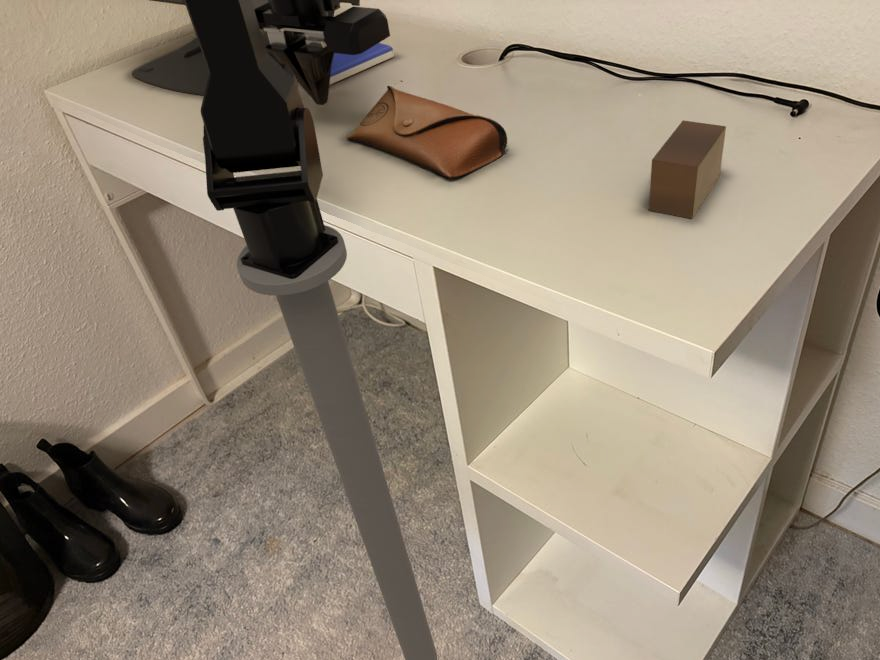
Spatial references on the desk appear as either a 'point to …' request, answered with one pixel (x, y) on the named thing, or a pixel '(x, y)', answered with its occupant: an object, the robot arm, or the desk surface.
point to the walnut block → (686, 168)
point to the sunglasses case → (431, 134)
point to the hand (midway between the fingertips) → (322, 103)
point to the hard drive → (358, 61)
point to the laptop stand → (183, 66)
